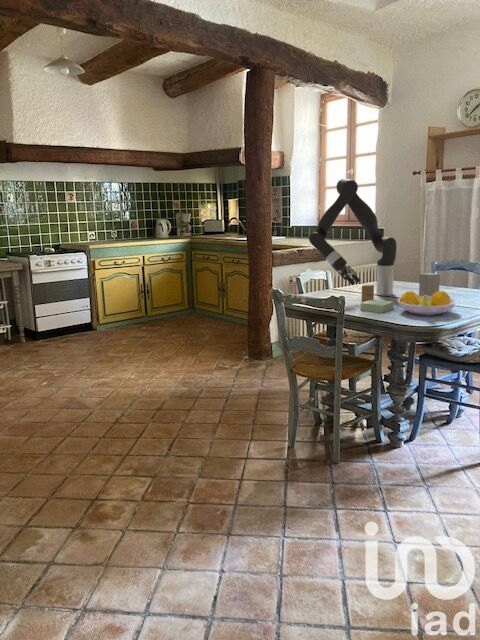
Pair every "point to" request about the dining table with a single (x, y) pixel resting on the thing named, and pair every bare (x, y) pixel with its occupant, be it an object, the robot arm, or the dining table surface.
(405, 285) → the dining table surface
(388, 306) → the sage platform block
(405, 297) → the fruit bowl
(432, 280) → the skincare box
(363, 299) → the walnut block
